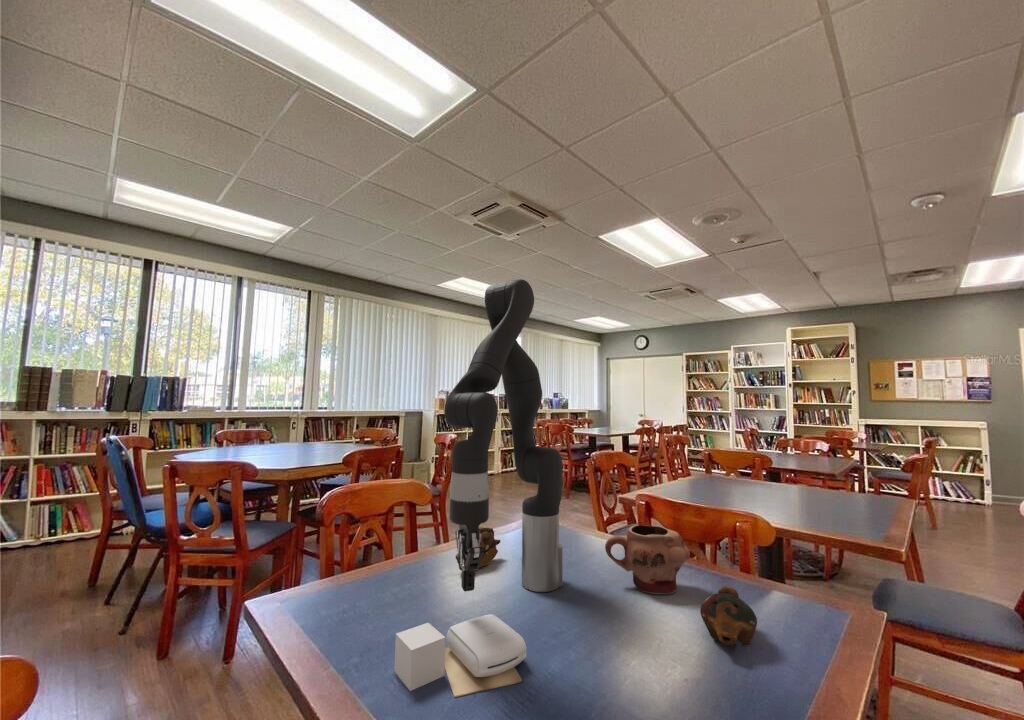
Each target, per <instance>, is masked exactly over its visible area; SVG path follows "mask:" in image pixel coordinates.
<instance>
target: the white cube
mask: <svg viewBox="0 0 1024 720" xmlns="http://www.w3.org/2000/svg"><path fill="white" fill-rule="evenodd" d="M394 646H395V647H394V649H395V650H394V670H393V671H394V673H395V674H396V675H397V677H398V678H399V679H400V681H401V682H402V683H403V684H404V686H405V687H406V688H407V689H408V690H409V691H410V692H411V691H413V690H417V689H418V688H421V687H422V686H424V685H427V684H429V683H431V682H433V681H436V680H438V679H441V678H443V677H445V648H446V636H445V635H444V634H442V633H441V632H440V631H438V630H437V628H435V626H433V625H432V624H431V623H430V622H426V623H423V624H419V625H417V626H415V627H414V626H413V627H412V628H408V629H406V630H402V631H399V632H396V633H395V644H394Z"/></svg>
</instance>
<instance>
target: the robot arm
mask: <svg viewBox="0 0 1024 720" xmlns="http://www.w3.org/2000/svg"><path fill="white" fill-rule="evenodd" d="M534 304H535V295H534V290H533V288H532V285H531V284H530V283H529V282H528V281H527V280H525V279H521V278H520V279H511V280H508V281H507V280H506V281H503V282H499V283H494V284H491V285H489V286H488V287H487V288H486V289H485V292H484V307H485V311H486V314H487V318H488V319H487V320H488V321H489V326H490V329H491V331H490V333H488V334H487V335H486V337H484V338H483V340H482V341H481V342H480V344H479V345H477V348H476V350H475V351H474V353H473V356H472V358H471V361H470V363H469V367H468V369H467V371H466V373H465V374H464V375H463V376H462V377H461V378H460V379H459V380H458V383H456V385H455V386H454V387H453V389H452V390H451V392H450V393H449V394H448V396H447V398H446V401H445V403H444V407H443V408H444V410H443V411H444V417H445V421H446V422H447V423H448V425H449V426H451V427H454V428H460V429H462V428H463V429H472V432H471V434H470V437H469V438H468V439H463V440H459V441H456V442H455V443H454V444H453V446H452V452H451V454H452V455H451V456H452V457H451V476H450V477H451V478H450V483H449V485H450V487H449V521H450V522H451V523H452V524H455V525H458V529H456V530H455V540H456V541H455V542H456V549H457V554H458V559H459V561H460V566H461V568H462V570H461V579H460V580H461V581H460V582H461V583H460V584H461V585H460V586H461V588H462V590H463V592H471V591H474V590H475V589H476V588H475V587H476V586H475V584H476V583H475V581H476V578H475V576H476V571H477V570H480V567H479V566H480V563H481V559H482V556H483V553H484V548H483V546H482V547H480V542H481V532H479V527H480V525H482V524H484V523H486V522H487V521H488V520H489V515H490V514H489V513H490V512H489V509H490V506H489V505H490V504H489V503H490V480H489V449H490V445H491V441H492V437H493V433H494V430H495V425H496V424H497V419H498V413H499V411H498V410H499V407H498V403H497V401H496V398H495V397H494V396H493V395H492V394H491V393H490V392H492V391H494V390H495V389H497V387H498V385H499V383H500V380H501V378H502V385H503V390H504V391H503V392H504V396H505V399H506V404H507V408H508V414H509V419H510V426H511V433H512V446H513V455H514V456H513V457H514V465H515V466H514V467H515V469H516V473H517V476H518V477H519V478H520V480H521V481H523V482H525V483H529V484H536V485H537V493H536V494H535V495H534V496H530V497H526V498H524V499H523V500H522V504H521V506H522V507H521V509H522V511H521V512H522V515H521V517H522V518H521V519H522V521H521V522H522V523H521V524H522V525H521V529H522V530H521V533H522V534H521V557H522V558H521V585H522V587H523V586H524V587H523V588H525V589H527V590H528V589H529V591H531V592H537V593H546V592H553V591H555V590H557V589H558V588H561V587H563V586H564V585H563V584H564V583H563V581H564V574H563V569H564V567H563V565H564V564H563V561H564V558H563V552H564V551H563V545H562V544H561V543H560V506H561V502H562V495H563V493H562V492H563V490H562V489H563V488H562V487H563V473H564V472H563V471H564V470H563V469H564V468H563V467H564V466H563V459H562V455H561V453H560V452H559V450H558V449H556V448H552V447H546V446H537V445H536V441H535V434H534V423H535V420H536V417H537V416H538V415H537V414H538V412H539V409H540V407H541V404H542V400H543V389H542V384H541V377H540V373H539V370H538V367H537V365H536V363H535V362H534V361H533V359H532V358H531V356H529V354H528V353H527V352H526V351H525V350H524V349H523V347H522V346H521V345H520V344H519V342H518V337H519V336H520V334H521V332H522V331H523V329H524V327H525V325H526V323H527V321H528V320H529V319H530V316H531V314H532V312H533V310H534Z"/></svg>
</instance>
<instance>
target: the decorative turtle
mask: <svg viewBox="0 0 1024 720" xmlns="http://www.w3.org/2000/svg"><path fill="white" fill-rule="evenodd" d="M699 613H700V616H701V619H702V621H703V623H704V625H705V627H706V630H707V631H708V633H709V635H710V636H711V638H712V640H714V641H716V642H720V643H722V645H724V646H728V647H732V646H734V645H736V643H737V641H738V642H739V643H740V644H741V645H742V646H744V647H748V646H750V644H751V642H752V640H753V639H754V635H755V632H756V629H757V626H758V618H757V615H756V613H755V612H754V610H753V609H752V608H751V607H750V605H749V604H748V603H747V602H745V601H744V600H743V599H741V598H740V597H739V593H738V591H737V590H736V589H735V588H734V587H733V586H730V585H723V586H721V587H720V588H719V589H718V591H717V593H715V594H712V595H710V596H707V598H706V599H704V601H703V602H702V603H701V606H700V609H699Z"/></svg>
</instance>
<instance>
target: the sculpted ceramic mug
mask: <svg viewBox="0 0 1024 720" xmlns="http://www.w3.org/2000/svg"><path fill="white" fill-rule="evenodd" d="M614 545H620V546H622V547H623V549H624V550H623V551H624V557H623V558H622V559H617V558H616V557H615V556H614V555H613V554H612V547H614ZM604 548H605V549H604V550H605V552H606V554H607V557H609V558H610V559H611V560H612V562H614V563H615V564H617V565H618V566H619V567H621V568H622V569H623V570H625V571H626V572H631V571H632V582H633V584H634V585H635V587H636V588H637V590H639V591H641V592H643V593H648V594H654V595H670V594H673V593H675V592H676V591H677V574H678V572H679V571H680V569H681V567H682V566H683V565H684V564H685V563H686V562H687V561H688V560H689V558H690V556H691V553H690V549H689V548H688V547H687V546H685V544H684V540H683V538H682V537H681V535H680V533H678V531H675V530H672V529H669V528H666V527H664V526H656V525H645V524H644V525H643V524H635V525H632V526H630V527H629V528H628V530H627V533H626V534H625V535H617V534H616V535H613V536H611V537H609V538H608V539H607V540H606V542H605V545H604Z"/></svg>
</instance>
